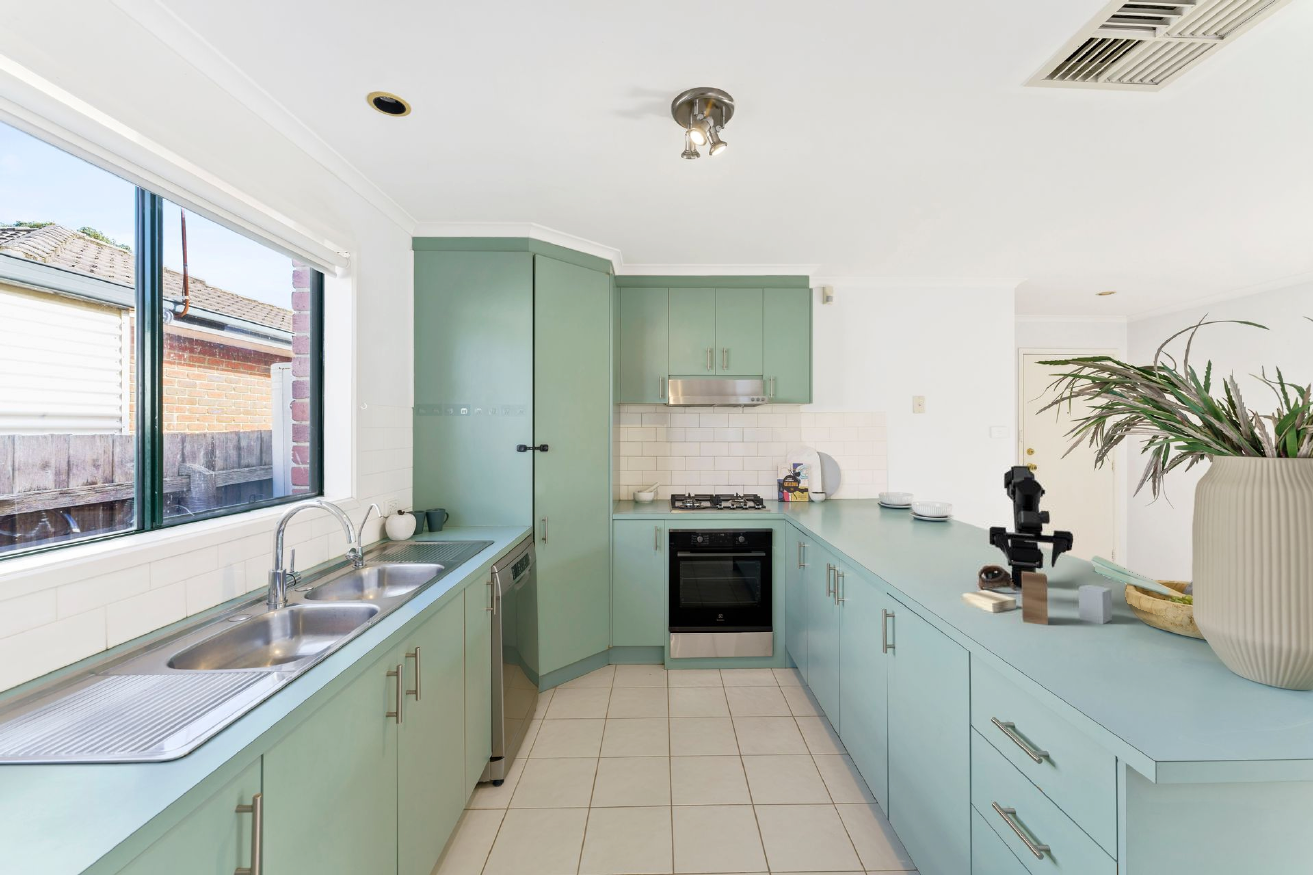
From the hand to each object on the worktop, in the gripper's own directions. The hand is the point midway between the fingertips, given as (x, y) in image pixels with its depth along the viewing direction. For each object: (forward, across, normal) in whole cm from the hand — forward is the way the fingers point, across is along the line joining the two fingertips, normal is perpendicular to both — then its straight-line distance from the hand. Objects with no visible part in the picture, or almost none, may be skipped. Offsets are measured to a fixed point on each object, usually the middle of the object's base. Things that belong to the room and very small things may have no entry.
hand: (1031, 564), depth 142 cm
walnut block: (+14, 0, +4) cm, 15 cm away
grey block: (+8, +13, +10) cm, 19 cm away
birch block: (+8, -10, +10) cm, 17 cm away
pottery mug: (-5, -8, +24) cm, 26 cm away
